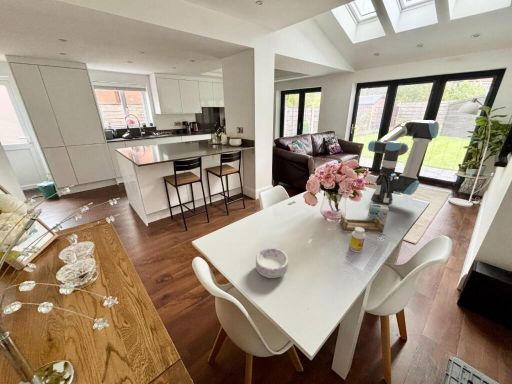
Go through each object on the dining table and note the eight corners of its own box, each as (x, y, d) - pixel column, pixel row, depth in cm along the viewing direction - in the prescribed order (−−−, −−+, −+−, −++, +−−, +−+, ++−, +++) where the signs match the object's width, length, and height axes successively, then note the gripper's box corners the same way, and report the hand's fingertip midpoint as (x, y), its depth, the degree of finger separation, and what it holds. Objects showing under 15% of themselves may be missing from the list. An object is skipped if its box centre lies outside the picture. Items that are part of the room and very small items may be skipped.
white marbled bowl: (264, 287, 91) (264, 273, 88) (251, 265, 104) (250, 252, 101) (294, 277, 97) (295, 263, 94) (277, 257, 110) (278, 244, 107)
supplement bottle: (356, 254, 111) (360, 233, 106) (346, 247, 117) (350, 227, 112) (365, 250, 114) (369, 230, 109) (354, 244, 119) (358, 224, 115)
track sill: (340, 221, 143) (341, 214, 141) (374, 223, 140) (376, 215, 138) (344, 231, 132) (346, 222, 130) (382, 233, 130) (384, 224, 127)
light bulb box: (367, 221, 144) (370, 206, 140) (367, 216, 149) (370, 203, 145) (385, 223, 140) (389, 209, 136) (384, 219, 146) (387, 205, 142)
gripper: (374, 162, 142) (368, 190, 150) (391, 172, 119) (383, 205, 127) (385, 162, 142) (379, 191, 149) (405, 172, 118) (396, 206, 126)
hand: (381, 198), depth 138 cm, fingers open, 13 cm apart
